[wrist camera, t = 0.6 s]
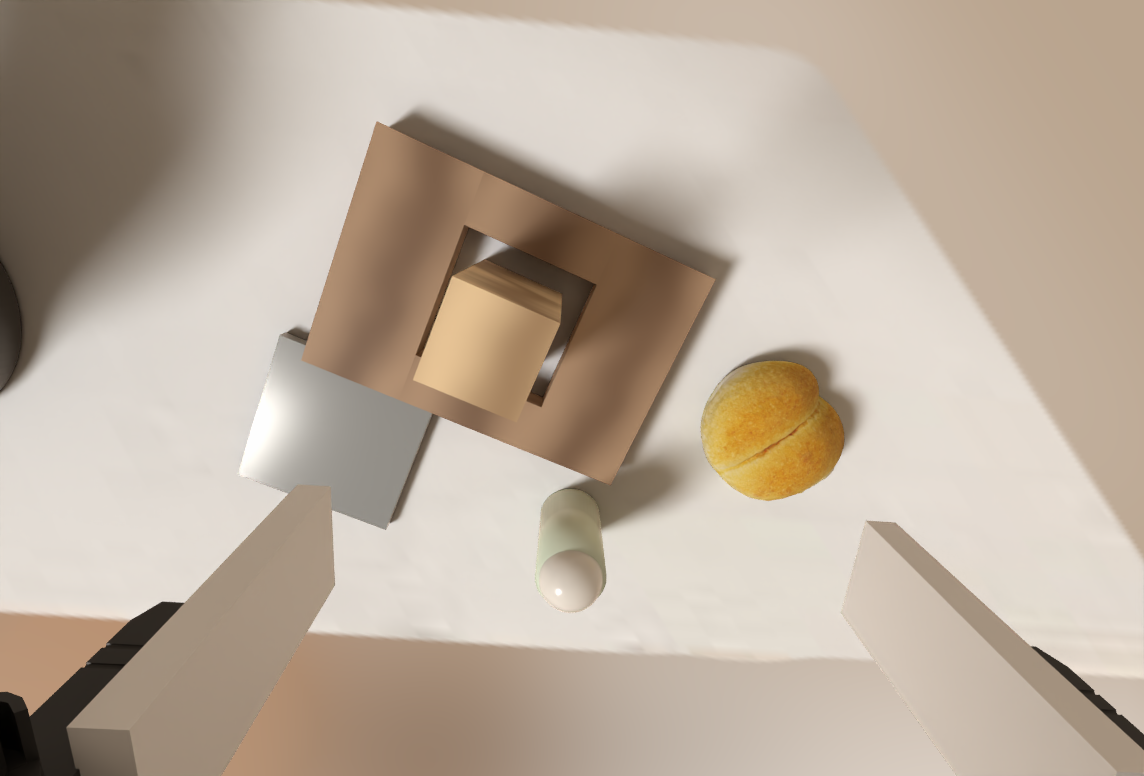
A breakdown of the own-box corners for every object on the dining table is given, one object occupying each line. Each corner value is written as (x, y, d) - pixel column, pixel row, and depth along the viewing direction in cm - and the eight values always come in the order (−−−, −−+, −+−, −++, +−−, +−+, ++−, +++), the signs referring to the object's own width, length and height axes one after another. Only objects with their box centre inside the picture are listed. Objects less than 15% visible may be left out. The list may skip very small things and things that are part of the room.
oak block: (455, 335, 35) (412, 379, 25) (484, 259, 34) (452, 275, 24) (530, 367, 35) (516, 422, 26) (562, 293, 34) (560, 323, 25)
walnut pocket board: (315, 352, 35) (300, 360, 33) (388, 127, 31) (376, 121, 29) (608, 471, 38) (610, 485, 36) (707, 275, 34) (715, 279, 32)
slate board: (244, 469, 37) (237, 474, 36) (285, 332, 35) (279, 335, 34) (389, 523, 38) (385, 529, 38) (440, 395, 36) (437, 399, 35)
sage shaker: (531, 528, 39) (521, 615, 30) (554, 479, 38) (551, 555, 29) (584, 549, 39) (589, 640, 31) (609, 501, 38) (621, 582, 30)
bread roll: (782, 332, 35) (809, 346, 31) (848, 441, 37) (880, 467, 34) (670, 405, 36) (682, 427, 33) (740, 507, 39) (759, 538, 35)
